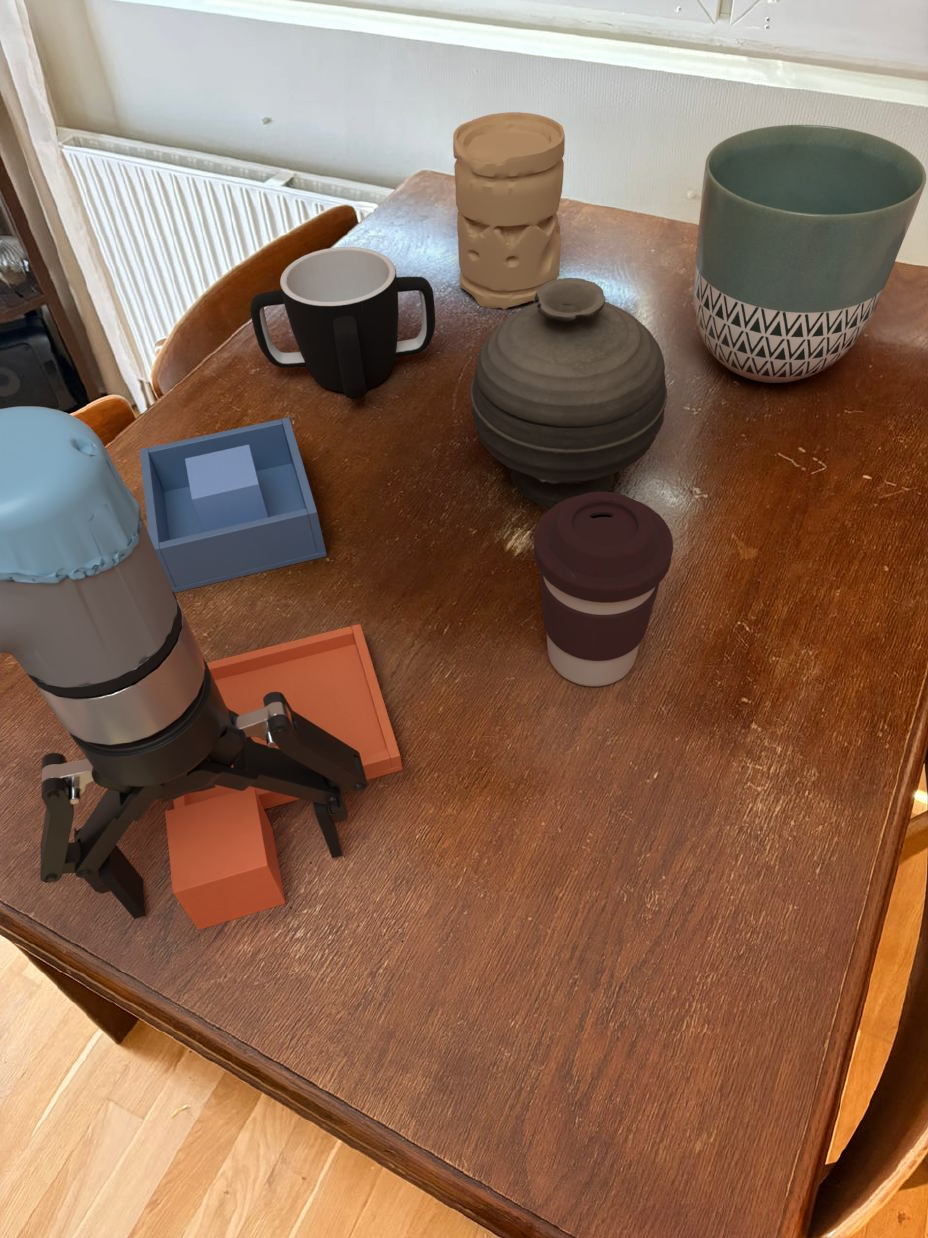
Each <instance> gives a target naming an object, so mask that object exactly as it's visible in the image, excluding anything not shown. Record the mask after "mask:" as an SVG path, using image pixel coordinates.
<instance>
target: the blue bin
mask: <svg viewBox="0 0 928 1238" xmlns="http://www.w3.org/2000/svg"><path fill="white" fill-rule="evenodd" d="M244 445H249V446H250V450H251V453H252V457H253V461H254V464H255V468H256V471H257V475H258V478H259V482H260V485H261V489H262V493H263V497H264V500H265V504H266V508H267V512H268V516H269V517H267V518H263V519H259V520H254V521H250V522H246V523H241V524H237V525H233V526H228V527H224V528H220V529H216V530H211V531H207V532H203V529H202V526H201V523H200V520H199V518H198V515H197V512H196V509H195V507H194V504H193V501H192V497H191V492H190V486H189V480H188V474H187V468H186V462H185V459H186V458H191V457H195V456H200V455H204V454H208V453H213V452H217V451H222V450H226V449H231V448H235V447H240V446H244ZM139 459H140V467H141V476H142V487H143V497H144V504H145V505H144V507H145V515H146V524H147V532H148V534H149V536H150V539H151V541H152V543H153V546H154V548H155V551H156V553H157V555H158V558H159V560H160V562H161V565H162V567H163V569H164V572H165V574H166V577H167V579H168V581H169V584H170V586H171V588H172V590H173V592H174V594H177V593H181V592H184V591H185V592H186V591H188V590H193V589H197V588H202V587H205V586H210V585H215V584H218V583H222V582H227V581H230V580H234V579H238V578H242V577H247V576H250V575H255V574H259V573H263V572H267V571H272V570H275V569H276V570H277V569H280V568H283V567H288V566H292V565H297V564H299V563H300V564H301V563H304V562H310V561H312V560H317V559H320V558H326V557H328V555H327V553H328V552H327V549H326V545H325V541H324V536H323V532H322V528H321V523H320V518H319V514H318V510H317V506H316V503H315V499H314V496H313V493H312V490H311V486H310V483H309V479H308V476H307V472H306V469H305V466H304V462H303V458H302V456H301V452H300V448H299V446H298V442H297V438H296V434H295V431H294V428H293V424H292V421H291V417H290V416H288V417H283V418H279V419H275V420H269V421H266V422H260V423H256V424H251V425H246V426H242V427H237V428H233V429H227V430H224V431H223V430H222V431H220V432H219V431H218V432H215V433H209V434H205V435H200V436H195V437H191V438H186V439H182V440H177V441H172V442H167V443H163V444H159V445H154V446H150V447H144V448H140V449H139Z"/></svg>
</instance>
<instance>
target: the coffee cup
mask: <svg viewBox="0 0 928 1238" xmlns="http://www.w3.org/2000/svg"><path fill="white" fill-rule="evenodd" d="M673 551H674V540H673V534H672V532H671V529H670V527H669V526H668V523H667V522H666V521H665V519H663V517H661V515H660V514H659V513H657V511H655V510H654V509H653V508H651V506H648V505H647V504H645V503H643V502H641V501H638V500H637V499H635V498H632V497H630V496H628V495H626V494H622V493H618V492H614V491H613V492H612V491H607V492H592V493H586V494H583V495H580V496H576V497H572V498H569V499H567V500H564V501H562V502H560V503H558V504H557V505H555V506H554V507H552V508H549V509H548V510H547V511H546V512H545V513H544V514H543V516H542V517H541V518H540V520H539V521H538V523H537V525H536V528H535V530H534V538H533V555H534V561H535V564H536V566H537V569H538V571H539V579H540V591H541V592H540V593H541V595H540V596H541V609H542V611H541V612H542V621H543V627H544V631H545V633H546V645H547V656H548V659H549V661H550V663H551V665H552V667H553V668H554V670H555V671H556V672H557V673H558V674H559V675H560V676H562V677H563V678H565V679H566V680H567V681H570V682H572V683H574V684H576V685H579V686H583V687H603V686H608V685H612V684H614V683H617V682H618V681H620V680H622V679H623V678H624V677H626V676H627V674H628V673H630V671H631V669H632V668H633V666H634V665H635V662H636V660H637V656H638V651H639V648H640V644H641V642H642V641H643V640H644V638H645V636H646V633H647V629H648V627H649V623H650V619H651V616H652V612H653V610H654V609H653V608H654V605H655V602H656V598H657V595H658V590H659V587H660V583H662V581H663V580H664V579H665V577H666V575H667V573H668V572H669V568H670V566H671V564H672V563H671V562H672V557H673Z"/></svg>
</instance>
